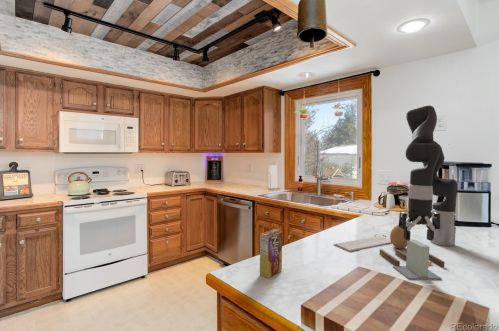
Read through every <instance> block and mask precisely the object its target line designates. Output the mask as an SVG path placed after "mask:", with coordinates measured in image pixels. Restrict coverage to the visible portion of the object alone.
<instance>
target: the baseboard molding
mask: <svg viewBox="0 0 499 331" xmlns="http://www.w3.org/2000/svg"><path fill="white" fill-rule="evenodd" d="M333 244H334V245H333V246H335V245H336V246H335V247H337V246H338V248H339V247H340V248H339V249H342V250H344V249H345V250H344V251H346V250H347V251H346V252H348V251H349V252H348V253H350V251H352V252H355V251H356V250H357V251H360V250H365V249H369V248H374V247H379V246H385V245H393V244H392V243H391V240H390V238H387V235H382V236H381V235H377V234H374V236H372V237H366V238H359V239H354V240H349V241H343V242H336V243H333Z"/></svg>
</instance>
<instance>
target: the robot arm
mask: <svg viewBox="0 0 499 331" xmlns="http://www.w3.org/2000/svg"><path fill="white" fill-rule="evenodd" d="M405 118H406V121H407V124H408V126H409V129H410V131H411V134H412V138H411V139H412V140H411V141H410V143H409V144H408V145H407V147H406V150H405V157H406V159H407V160H408V161H409V162H411V163H422V165H423V167H419V168H413V169H411V171H410V177H409V188H408V201H407V202H408V204H407V208H408V211H407V212H404V211H400V212H399V215H398V216H399V218H398V226H399V227H400V228H402V229H404V238H405V240H407V241H410V240H411V233H412V232H411V229H412V228H414V227H415V226H416V225H423V226H425V227H426V228H427V230H426V240H428V241H430V243H432V244H434V245H438V246H444V247H453V246H455V245H456V233H457V231H456V229H457V227H456V226H455V217H456V216H455V212H456V206H457V196H458V189H459V188H458V182H457V181H456V179H449V178H441V177H439V176H438V172H439V171H440V169H441V167H442V166H443V164H444V162H445V155H444V151H443V147H442V146H441V145H440V144H439V143H438V142H437V141H435V140H434V131H435V129H436V127H437V123H438V115H437V112H436V110H435V108H434V106H432V105H423V106H421V107H417V108H413V109H411V110H408V111H407V112H406V114H405ZM434 196H436V197H441V198H445V199H444V200H443V201H440V202H434V203H433V201H434Z"/></svg>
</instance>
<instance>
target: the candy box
mask: <svg viewBox="0 0 499 331" xmlns="http://www.w3.org/2000/svg"><path fill="white" fill-rule="evenodd" d="M281 271H283V230H280V229H276V228H273V229H270V230H267V231H265V232H262V233H260V234H259V276H262V277H264V278H266V279H270V278H272V277H273V276H274V275H276V274H278V273H279V272H281Z"/></svg>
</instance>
